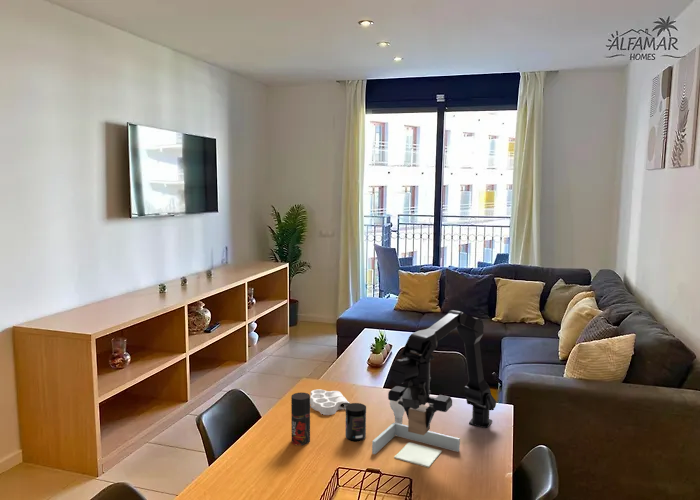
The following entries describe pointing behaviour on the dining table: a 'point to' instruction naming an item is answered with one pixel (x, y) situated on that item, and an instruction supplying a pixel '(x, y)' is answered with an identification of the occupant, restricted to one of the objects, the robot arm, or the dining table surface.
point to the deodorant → (300, 418)
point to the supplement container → (355, 422)
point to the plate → (418, 454)
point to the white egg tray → (327, 401)
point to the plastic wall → (415, 438)
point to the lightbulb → (397, 411)
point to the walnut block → (418, 420)
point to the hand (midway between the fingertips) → (419, 425)
